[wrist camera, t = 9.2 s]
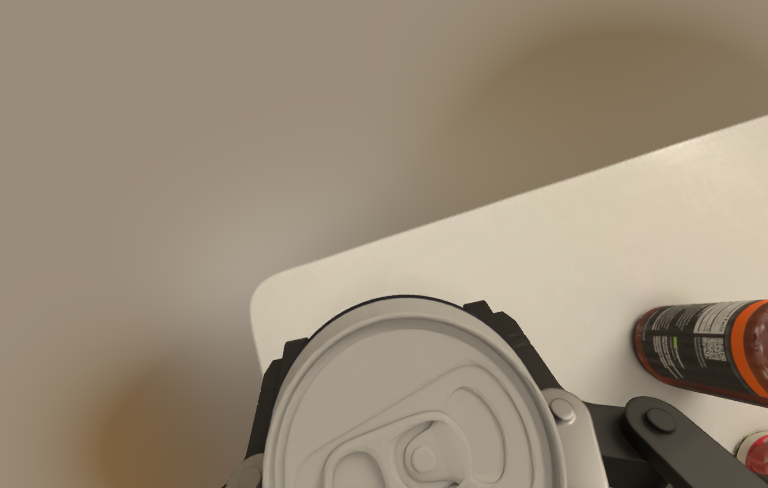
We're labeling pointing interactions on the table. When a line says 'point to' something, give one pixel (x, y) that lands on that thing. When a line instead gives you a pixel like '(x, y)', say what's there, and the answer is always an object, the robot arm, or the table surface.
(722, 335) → the supplement bottle
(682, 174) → the table surface
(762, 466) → the pill bottle
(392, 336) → the beverage can
